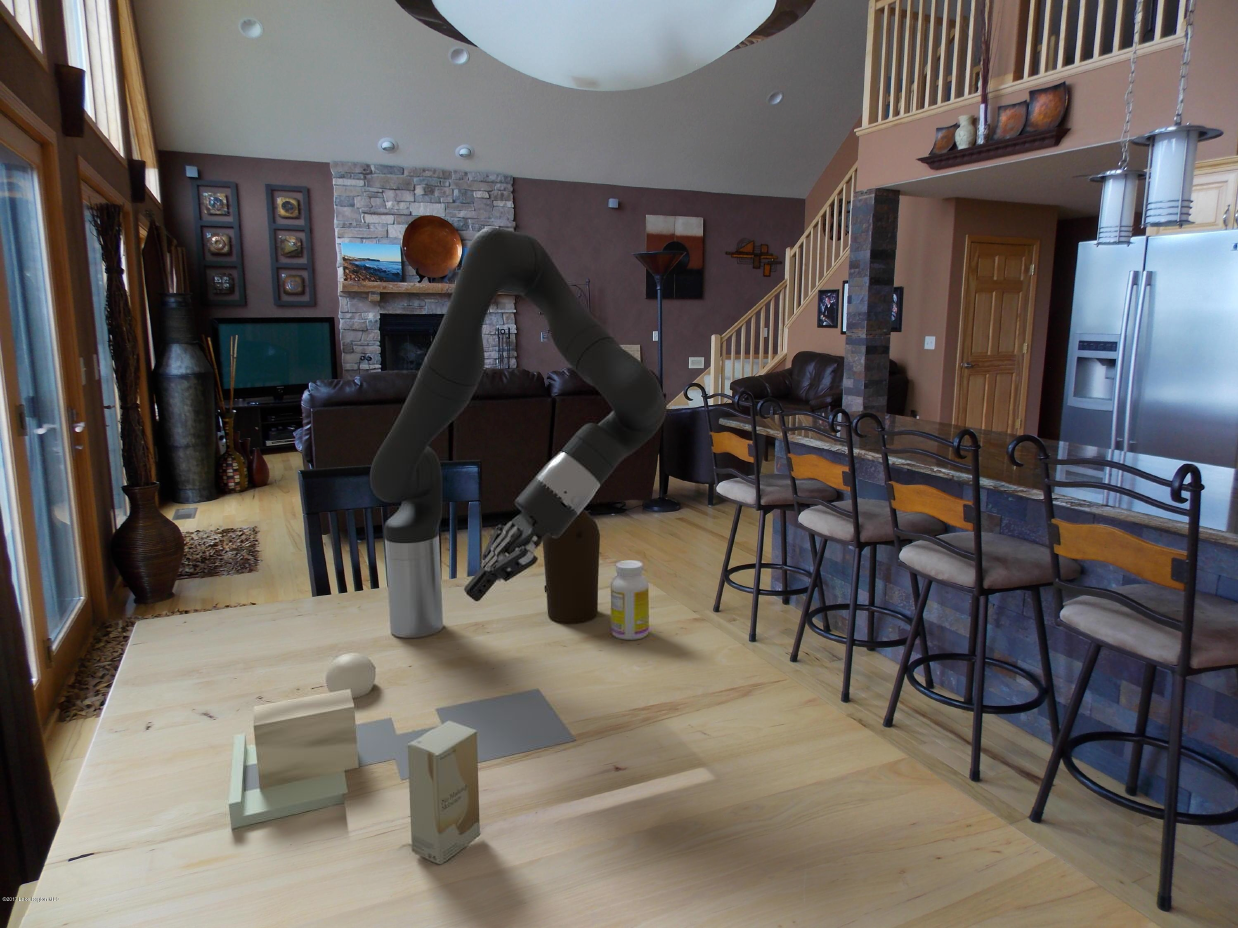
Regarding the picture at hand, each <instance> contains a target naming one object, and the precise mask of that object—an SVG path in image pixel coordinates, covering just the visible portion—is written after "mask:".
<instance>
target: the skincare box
mask: <svg viewBox="0 0 1238 928" xmlns="http://www.w3.org/2000/svg"><path fill="white" fill-rule="evenodd" d="M437 726H438V727H437V728H435V729H432V730H430V731H428V732H427V733H425V734H424V735H422V736H421V737H419V738H417V739H415V740H414V741H412V742H410V743H408V767H409V779H408V788H409V789H408V790H409V811H410V812H409V815H410V839H411V851H412V852H413V853H415V854H417V855H419V856H421V857H423V858H424V859H427V860H429V861H431V862H433V863H435V864H438V865H443V864H444V863H445V862H446V861H448V860H449V859H451V857H453V856H454V855H456V854H457V853H458V852H459V851H461V850H462V849H464V848H465V847H466V846H467V845H469V844H470V843H471V842H472V841H474V840H475V839H476V838H477V837H479V836H480V835H481V829H480V828H481V827H480V823H481V822H480V795H479V794H480V792H479V791H480V789H479V763H478V752H477V730H474V729H471V728H469V727H466V726H463V725H461V724H458V723H455V722H453V721H447V722H445V723H444V724H442V723H441V724H440V725H437Z"/></svg>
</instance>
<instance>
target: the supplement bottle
mask: <svg viewBox="0 0 1238 928" xmlns="http://www.w3.org/2000/svg"><path fill="white" fill-rule="evenodd" d="M643 565H644V564H643V563H642V562H640V561H639V560H630V559H629V560H621V561H617V562H616V564H615V573H616V576H614V577H613V578H612V579H611V581H610V623H611V624H610V627H611V629H610V630H611V634H612V635H613V636H614V637H615V638H617V639H619V640H626V641H627V640H629V641H634V640H635V641H636V640H640V639H643V638H645V637H647V635H649V632H650V631H649V630H650V613H649V612H650V609H649V607H650V605H649V598H650V597H649V580H648V579H647V578H646V576H643V575H642V573H643V570H644V569H643Z"/></svg>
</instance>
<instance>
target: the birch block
mask: <svg viewBox="0 0 1238 928" xmlns="http://www.w3.org/2000/svg"><path fill="white" fill-rule="evenodd" d="M353 699H354V698H353ZM353 699H352V695H351V691H350V689H347V690H342V691H336V692H331V693H330V692H327V693H321V694H315V695H309V696H305V697H299V698H294V699H289V700H288V699H287V700H282V701H278V702H272V703H266V704H261V705H255V706H253V724H252V725H253V734H254V735H253V736H254V744H255V746H256V757H257V767H258V777H259V788H260V789H264V788H268V787H273V786H277V785H282V784H286V783H291V782H295V781H300V780H304V779H309V778H313V777H318V776H322V775H327V774H331V773H336V772H340V771H344V772H345V771H350V770H355V769H357V768H358V769H359V768H360V767H359V764H358V751H357V737H356V724H357V723H356V714H355V713H356V712H355V711H356V710H355V709H356V708H355V702H354V700H353Z"/></svg>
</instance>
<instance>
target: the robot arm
mask: <svg viewBox="0 0 1238 928" xmlns="http://www.w3.org/2000/svg"><path fill="white" fill-rule="evenodd" d="M454 285H455V286H454V289H453V292H452V294H451V297H450V300H449V304H448V306H447V308H446V311H445V313H444V315H443V318H442V320H441V323H440V326H439V327H438V330H437V333H436V335H435V337H434V339H433V342H432V343H431V346H430V348H429V349H428V351H427V353H426V356H425V358H424V360H423V362H422V364H421V366H420V369H419V371H418V374H417V376H416V378H415V381H414V383H413V386H412V388H411V390H410V392H409V394H408V396H407V398H406V400H405V402H404V404H403V406H402V408H401V411H400V413H399V415H398V417H397V418H396V421H395V422H394V424H393V426H392V427H391V429H390V431H389V433H388V434H387V436H386V438H385V439H384V441H383V442H382V444H381V446H380V447H379V449H378V450H377V452H376V454H375V456H374V458H373V460H372V464H371V467H370V471H369V480H370V481H369V482H370V483H369V484H370V488H371V490H372V491H373V494H374V495H375V497H376V498H378V499H379V501H380V500H381V501H383V502H385V503H400V502H401V505H400V507H398V508H399V509H398V510H397V511H396V512H395V513H394V514H393V515H392V516H391V517H390V518H388V520H386V521H385V523H384V529H383V533H384V546H385V557H386V558H385V561H386V575H387V578H386V579H387V591H388V592H387V593H388V606H389V607H388V611H389V625H390V626H389V627H390V632H391V634H392V635H394V636H395V637H399V638H405V639H412V638H413V639H414V638H415V639H416V638H423V637H427V636H432V635H434V634H436V633H438V632H440V631H441V630H442V629H443V628H444V619H443V617H444V614H443V597H442V596H443V595H442V594H443V593H442V573H441V555H440V537H439V535H440V534H439V527H440V523H441V520H442V517H443V516H442V515H443V474H442V466H441V463H440V458H439V457H438V455H437V454H436V452H435V451H434V450H433V449H432V448H431V447H430V446H429V445H430V444H431V442H432V441H433V440H434V439H435V438H436V437H437V436H438V435H439V434H440V433H441V432H442V431H443V430H445V429H446V428H447V427H448V426H449V425H450V424H451V423H452V422H453V421H454V420H455V419H456V418H457V417H458V416H459V415H460V414H461V413H462V412H463V411H464V409H466V407H467V406H468V404H469V402H470V401H471V400H472V398H473V395H474V393H475V392H476V390H477V387H478V385H479V383H480V381H481V379H482V377H483V374H484V371H485V367H486V364H485V363H486V362H485V361H486V360H485V358H486V356H485V345H484V340H483V326H484V323H485V319H486V317H487V314H488V312H489V310H490V308H491V306H492V304H493V301H495V299H496V297H497V295H498V294H505V295H514V296H515V295H517V296H518V295H520V296H521V297H523V298H525V299H526V300H527V301H529V302H531V303H532V304H533V306H535V307H536V308H537V309H538V310H539V311H540V312H541V313H542V314H543V316H544V317H545V319H546V321H547V324H548V328H549V332H550V336H551V339H552V341H553V344H554V346H555V348H556V350H557V351H558V352H559V354H560V355H561V356H562V357H563V359H564V360H565V362H567V363H568V364H569V365H570V366H571V368H572V369H573V370H574V371H575V372H576V373H577V374H578V375H579V377H581V378H582V380H584V382H586V383H587V384H588V385H590V386H593V387H595V389H596V390H597V391H598V392H599V394H601V396H602V397H603V398H604V399H605V400H606V402H607V403H608V404H609V406H610V408H611V409H612V411H611V412H610V413H609V414H608V415H607V416H606V417H605V418H603V419H602V420H601V421H600V422H599V423H594V422H589V423H586V424H584V425H583V426H582V427H581V428H580V429H578V431H577V432H576V433H575V434H574V435H573V436H572V437H571V438H570V440H568V442H567V443H566V444H565V446H564V447H563V448H562V449H561V451H559V452H558V453H557V454H556V455H555V456H553V458H551V459H550V460H549V461H548V462H547V463H546V464H545V465H544V466H543V468H542V469H541V470H540V471H539V472H538V473H537V474H536V475H535V477H534V478H533V479H532V480H531V481H530V482H529V483H528V485H527V486H526V487H525V488H524V490H523V491H522V492H521V493H520V494H519V495H518V496H517V498H515V500H514V505H515V506H516V507H517V508H518V509H519V510H520V513H518V514H517V515H516V516H515V517H514V518H512V520H510V521H508V522H507V524H506V525H505V526H503V525H502V524H499V525H497V526H496V527H495V528H494V531H493V532H492V535H491V537H490V539H489V541H488V543H487V545H486V547H485V548H484V552H483V553H482V556H481V557H480V558H481V560H483V561H482V563H481V567H480V569H478V571H477V573H476V574H475V575H474V576H473V577H472V578H471V579H470V580H469V582H468V583H467V584H466V585H465V586H464V588H463V590H464V592H465V594H466V596H468V597H469V598H470V599H472V600H473V601H475V602H479V601H481V600H482V599H483V597H484V596H485V595H486V594H487V593H488V592H489V590H490V589H491V588H492V587H493V586H494V585H495V583H497V582H500V581H502V580H503V581H504V582H508V581H510V580H512V579H513V578H514V577H516V576H517V575H519V574H521V573H523V572H524V571H526V570H527V569H529V568H530V567H531V568H532V566H534V565H536V563H537V562H538V560H539V557H538V556H536V555H535V554H534V552H536V550H537V549H538V548H539V547H540V545H541V544H543V539H544V537H545V536H546V534H547V533H548V534H549V535H551V536H552V537H553V538H558V537H560V535H561V534H562V533H563V532H564V531H565V530H566V528H567V527H568V526H569V525H570V524H571V522H572V521H573V520H574V519H575V518H576V517H577V515H578V514H579V513H580V512H581V511H582V510H583V509H584V508H586V506H587V505H588V504H589V503H590V501H591V500H592V499H593V498H594V496H595V494H596V492H597V491H598V489H600V487H601V486H602V485H603V484H604V482H605V481H606V480H607V479H608V477H609V476H610V475H611V474H612V473H613V472H614V470H615V469H616V468H617V467H618V465H619V464H620V463H621V461H623V460H624V459H626V458H627V457H628V456H630V455H632V454H633V453H634V452H635V451H637V450H638V449H639V448H640V447H641V446H643V445H645V444H646V443H647V441H648V440H650V439H651V438H652V437H653V436H654V435H655V434H656V433H657V431H659V429H660V427H661V425H663V422H664V420H665V419H666V415H667V402H666V398H665V396H664V394H663V390H662V388H661V385H660V382H659V381H658V379H657V377H656V376H655V375H654V374H653V372H652V371H651V370H650V369H649V368H648V367H647V366H646V365H645V364H644V363H642V361H641V360H639V359H638V358H636V356H635V355H632V354H631V353H630V352H628V350H626V349H624V348H623V347H622V346H621V345H620V343H619V342H618V341H617V340H616V339H615V338H614V337H613V336H612V335H611V334H610V332H608V330H607V329H605V327H604V326H603V325H602V324H601V323H600V322H599V321H598V320H597V319H596V318H595V317H594V316H593V315H592V314H591V313H590V311H589V310H588V309H587V307H585V306H584V304H583V303H582V302H581V301H580V299H579V298H578V296H577V295H576V293H575V292H574V291H573V290H572V288H571V286H570V285H569V283H568V282H567V281H566V279H565V278H564V277H563V274H562V273H561V272H560V270H559V268H558V267H557V265H556V264H555V262H554V261H553V259H552V258H551V256H550V254H549V253H548V252H547V250H546V249H545V248H544V246H543V245H542V244H541V242H539V241H538V239H537V238H535V237H533V236H532V235H529V234H527V233H524V232H521V231H520V232H518V231H515V230H509V229H505V228H500V227H485V228H484V229H483V228H482V230H480V231H479V232H477V233H476V235H474V237H473V239H472V241H471V242H470V244H469V246H468V248H467V251H466V252H465V256H464V258H463V261H462V264H461V268H460V269H459V273H458V276H457V278H456V282H455V284H454Z"/></svg>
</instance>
